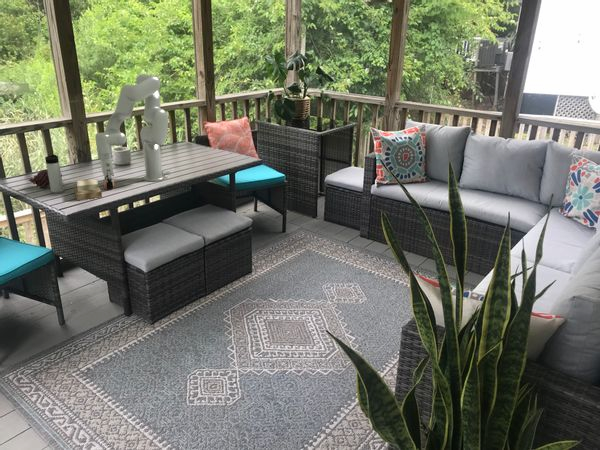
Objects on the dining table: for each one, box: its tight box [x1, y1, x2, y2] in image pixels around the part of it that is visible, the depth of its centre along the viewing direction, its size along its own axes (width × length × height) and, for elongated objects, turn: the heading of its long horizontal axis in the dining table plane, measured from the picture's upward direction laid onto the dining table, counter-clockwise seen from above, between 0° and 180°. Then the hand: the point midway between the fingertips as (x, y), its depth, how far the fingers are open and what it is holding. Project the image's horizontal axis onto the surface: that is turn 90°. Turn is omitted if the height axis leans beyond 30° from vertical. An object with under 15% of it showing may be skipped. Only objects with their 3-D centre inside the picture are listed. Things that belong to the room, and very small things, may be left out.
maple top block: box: [76, 178, 100, 193], centre depth 257 cm, size 10×10×4 cm
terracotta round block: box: [102, 178, 116, 191], centre depth 271 cm, size 6×6×5 cm
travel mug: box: [44, 154, 65, 195], centre depth 260 cm, size 6×7×20 cm
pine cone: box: [28, 169, 63, 189], centre depth 269 cm, size 18×10×10 cm, turn 139°
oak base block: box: [73, 185, 103, 202], centre depth 258 cm, size 12×12×4 cm
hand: (109, 187), depth 271 cm, fingers closed on terracotta round block, 5 cm apart
